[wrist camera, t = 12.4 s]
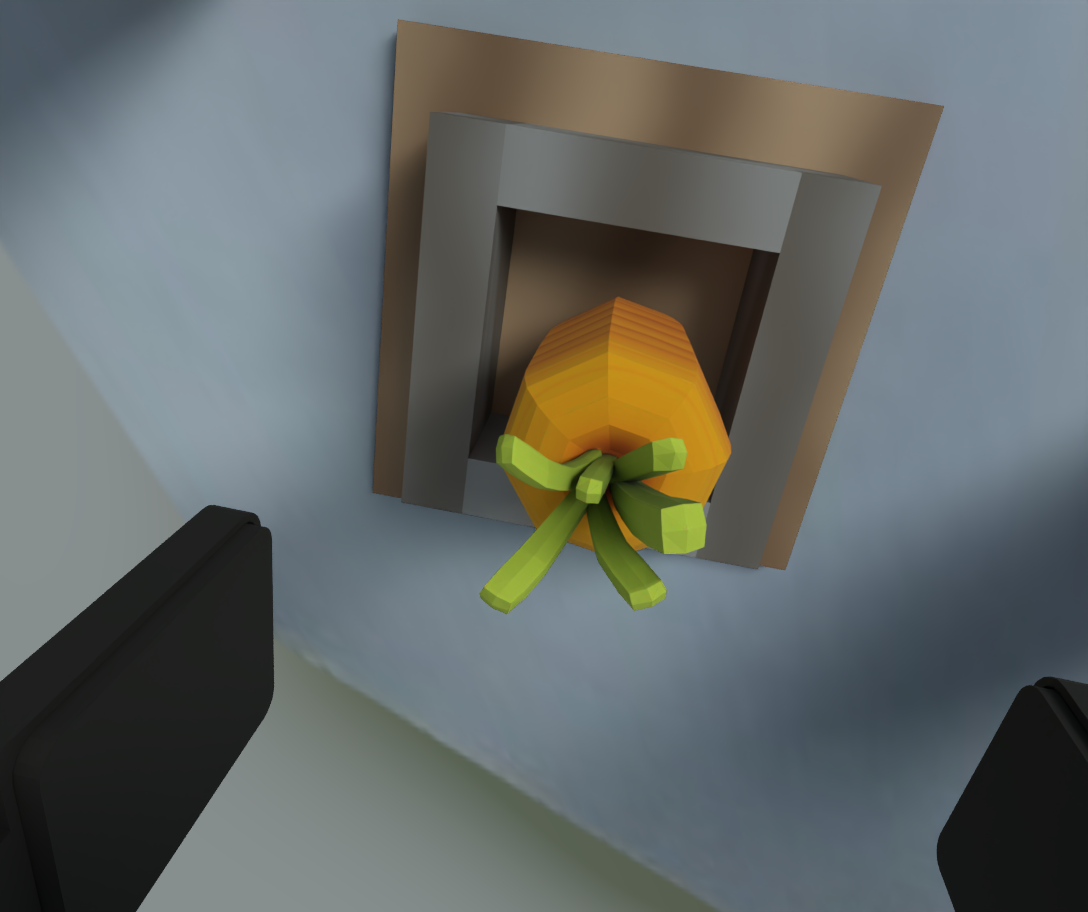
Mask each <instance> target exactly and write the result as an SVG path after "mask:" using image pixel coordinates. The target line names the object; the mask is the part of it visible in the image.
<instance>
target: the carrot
mask: <svg viewBox="0 0 1088 912" xmlns="http://www.w3.org/2000/svg"><path fill="white" fill-rule="evenodd" d="M730 454H731V444H730V441H729V438H728V435H727V432H726V429H725V427H724V424H723V421H722V418H721V415H720V412H719V410H718V408H717V405H716V403H715V401H714V398H713V396H712V393H711V391H710V389H709V386H708V384H707V382H706V379H705V377H704V374H703V372H702V370H701V367H700V365H699V363H698V360H697V358H696V355H695V353H694V351H693V348H692V346H691V344H690V341H689V339H688V337H687V335H686V332H685V330H684V328H683V326H682V324H680V323H679V322H678V321H676V320H675V319H674V318H672V317H670V316H668V315H666V314H664V313H662V312H659V311H656V310H653V309H651V308H648V307H645V306H643V305H640V304H637V303H635V302H632V301H629V300H626V299H624V298H621V297H616V298H614V299H611V300H609V301H607V302H605V303H603V304H600V305H598V306H596V307H594V308H592V309H589V310H587V311H585V312H583V313H581V314H578V315H576V316H574V317H572V318H570V319H567V320H565V321H563V322H562V323H560V324H558V325H557V326H555V327H554V328H552V329H551V330H550V331H549V333H548V334H547V335H546V337H545V338H544V340H543V341H542V343H541V344H540V346H539V347H538V349H537V351H536V353H535V354H534V356H533V358H532V360H531V362H530V364H529V365H528V367H527V369H526V371H525V374H524V377H523V380H522V383H521V386H520V389H519V392H518V394H517V397H516V400H515V403H514V406H513V409H512V412H511V415H510V417H509V420H508V423H507V426H506V429H505V432H504V435H501V436H499V439H498V442H497V446H496V463H497V464H498V465H499V466H501V467H502V468H503V469H504V471H505V473H506V475H507V476H508V478H509V480H510V482H511V484H512V486H513V487H514V489H515V491H516V493H517V495H518V497H519V498H520V500H521V502H522V504H523V506H524V508H525V509H526V511H527V513H528V515H529V517H530V519H531V520H532V522H533V524H534V526H535V528H536V531H535V532H534V533H533V534H532V535H531V537H530V538H529V539H528V540H527V541H526V542H525V543H524V544H523V545H522V547H521V548H520V549H519V550H518V551H517V552H516V553H515V554H514V555H513V556H512V557H511V558H510V559H509V560H508V561H507V562H506V563H505V564H504V565H503V566H502V567H501V568H500V569H499V570H498V571H497V572H496V574H495V575H494V576H493V577H492V578H491V579H490V581H489V582H488V583H487V584H486V585H485V586H484V588H483V589H482V591H481V592H480V597H481V599H482V600H483V601H485V602H486V603H487V604H488V605H489V606H490V607H492V608H493V609H496V610H498V611H500V612H503V613H505V614H507V613H509V612H510V611H511V610H512V609H513V608H514V607H516V606H517V605H518V604H519V603H520V602H521V601H522V600H523V599H525V598H526V597H527V596H528V594H529V593H530V592H531V591H532V590H533V589H534V587H535V586H536V585H537V584H538V583H539V582H540V580H541V579H542V578H543V577H544V576H545V575H546V573H547V571H548V570H549V568H550V567H551V565H552V564H553V562H554V561H555V559H556V558H557V556H558V555H559V553H560V552H561V550H562V549H563V547H564V546H565V544H566V543H567V542H569V543H572V544H575V545H577V546H580V547H583V548H586V549H589V550H591V551H594V552H595V553H596V556H597V560H598V562H599V563H600V565H601V567H602V568H603V570H604V572H605V573H606V575H607V576H608V578H609V579H610V581H611V582H612V584H613V585H614V587H615V588H616V590H617V591H618V593H619V594H620V595H621V596H622V597H623V598H624V600H625V601H626V602H627V603H628V604H629V605H630V606H631V608H632V609H633V610H634V611H635V610H640V609H645V608H649V607H652V606H654V605H655V604H657V603H659V602H660V601H662V600H663V599H665V598H666V592H667V590H666V588H665V586H664V584H663V582H662V581H661V579H660V578H659V577H658V576H657V575H656V574H655V572H654V571H653V570H652V569H651V568H650V567H649V565H648V564H647V563H646V562H645V561H644V560H643V559H642V558H641V556H640V555H639V554H638V553H637V552H636V551H638V550H640V549H643V548H646V547H650V548H652V549H654V550H657V551H659V552H661V553H663V554H683V553H689V552H692V551H694V550H697V549H700V548H703V547H704V545H705V535H706V526H707V525H706V520H705V516H704V511H703V508H704V506H705V504H706V502H707V500H708V498H709V496H710V494H711V492H712V490H713V488H714V486H715V484H716V482H717V480H718V478H719V476H720V474H721V472H722V470H723V468H724V466H725V464H726V462H727V460H728V458H729V456H730Z"/></svg>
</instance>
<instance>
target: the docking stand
mask: <svg viewBox="0 0 1088 912" xmlns="http://www.w3.org/2000/svg"><path fill="white" fill-rule="evenodd" d="M943 108H944V106H941V105H934V104H928V103H922V102H915V101H909V100H903V99H896V98H890V97H884V96H877V95H871V94H865V93H858V92H852V91H846V90H840V89H833V88H827V87H821V86H814V85H808V84H802V83H795V82H789V81H783V80H776V79H770V78H764V77H758V76H751V75H745V74H739V73H732V72H726V71H720V70H713V69H707V68H701V67H694V66H688V65H682V64H675V63H669V62H663V61H657V60H650V59H644V58H638V57H631V56H625V55H619V54H612V53H606V52H600V51H593V50H587V49H581V48H575V47H568V46H562V45H556V44H549V43H543V42H537V41H530V40H524V39H518V38H511V37H505V36H499V35H492V34H486V33H480V32H474V31H467V30H461V29H455V28H448V27H442V26H436V25H429V24H423V23H417V22H410V21H404V20H398V25H397V44H396V63H395V82H394V101H393V119H392V138H391V157H390V176H389V195H388V213H387V232H386V251H385V270H384V289H383V307H382V326H381V345H380V364H379V383H378V401H377V420H376V439H375V458H374V477H373V493H377V494H382V495H388V496H393V497H398V498H402V502H403V503H408V504H413V505H419V506H424V507H429V508H434V509H440V510H445V511H450V512H456V513H461V514H466V515H472V516H477V517H482V518H488V519H493V520H498V521H503V522H509V523H514V524H519V525H525V526H530V527H535V526H534V524H533V522H532V520H531V519H530V517H529V515H528V513H527V511H526V509H525V508H524V506H523V504H522V502H521V500H520V498H519V497H518V495H517V493H516V491H515V489H514V487H513V486H512V484H511V482H510V480H509V478H508V476H507V475H506V473H505V471H504V469H503V468H502V467H501V466H499V465H498V464H497V463H496V446H497V442H498V439H499V436H501V435H504V432H505V429H506V426H507V423H508V420H509V417H510V415H511V412H512V409H513V406H514V403H515V400H516V397H517V394H518V392H519V389H520V386H521V383H522V380H523V377H524V374H525V371H526V369H527V367H528V365H529V364H530V362H531V360H532V358H533V356H534V354H535V353H536V351H537V349H538V347H539V346H540V344H541V343H542V341H543V340H544V338H545V337H546V335H547V334H548V333H549V331H550V330H551V329H552V328H554V327H555V326H557V325H558V324H560V323H562V322H563V321H565V320H567V319H570V318H572V317H574V316H576V315H578V314H581V313H583V312H585V311H587V310H589V309H592V308H594V307H596V306H598V305H600V304H603V303H605V302H607V301H609V300H611V299H614V298H616V297H621V298H624V299H626V300H629V301H632V302H635V303H637V304H640V305H643V306H645V307H648V308H651V309H653V310H656V311H659V312H662V313H664V314H666V315H668V316H670V317H672V318H674V319H675V320H676V321H678V322H679V323H680V324H682V326H683V328H684V330H685V332H686V335H687V337H688V339H689V341H690V344H691V346H692V348H693V351H694V353H695V355H696V358H697V360H698V363H699V365H700V367H701V370H702V372H703V374H704V377H705V379H706V382H707V384H708V386H709V389H710V391H711V393H712V396H713V398H714V401H715V403H716V405H717V408H718V410H719V412H720V415H721V418H722V421H723V424H724V427H725V429H726V432H727V435H728V438H729V441H730V444H731V454H730V456H729V458H728V460H727V462H726V464H725V466H724V468H723V470H722V472H721V474H720V476H719V478H718V480H717V482H716V484H715V486H714V488H713V490H712V492H711V494H710V496H709V498H708V500H707V502H706V504H705V506H704V508H703V511H704V516H705V520H706V525H707V526H706V535H705V545H704V547H703V548H700V549H697V550H694V551H692V552H689V553H683V554H679V555H684V556H689V557H694V558H700V559H705V560H710V561H716V562H721V563H726V564H732V565H737V566H742V567H748V568H753V569H758V568H759V565H760V566H765V567H770V568H775V569H781V570H785V569H786V567H787V564H788V561H789V558H790V555H791V552H792V549H793V546H794V543H795V540H796V537H797V534H798V532H799V529H800V526H801V523H802V520H803V517H804V514H805V511H806V508H807V505H808V502H809V499H810V496H811V494H812V491H813V488H814V485H815V482H816V479H817V476H818V473H819V470H820V467H821V464H822V461H823V458H824V456H825V453H826V450H827V447H828V444H829V441H830V438H831V435H832V432H833V429H834V426H835V423H836V421H837V418H838V415H839V412H840V409H841V406H842V403H843V400H844V397H845V394H846V391H847V388H848V385H849V383H850V380H851V377H852V374H853V371H854V368H855V365H856V362H857V359H858V356H859V353H860V350H861V347H862V345H863V342H864V339H865V336H866V333H867V330H868V327H869V324H870V321H871V318H872V315H873V312H874V310H875V307H876V304H877V301H878V298H879V295H880V292H881V289H882V286H883V283H884V280H885V277H886V274H887V272H888V269H889V266H890V263H891V260H892V257H893V254H894V251H895V248H896V245H897V242H898V239H899V236H900V234H901V231H902V228H903V225H904V222H905V219H906V216H907V213H908V210H909V207H910V204H911V201H912V199H913V196H914V193H915V190H916V187H917V184H918V181H919V178H920V175H921V172H922V169H923V166H924V163H925V161H926V158H927V155H928V152H929V149H930V146H931V143H932V140H933V137H934V134H935V131H936V128H937V125H938V123H939V120H940V117H941V114H942V111H943ZM646 548H647V549H652V548H650V547H646ZM652 550H654V549H652Z"/></svg>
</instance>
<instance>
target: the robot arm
mask: <svg viewBox="0 0 1088 912" xmlns="http://www.w3.org/2000/svg"><path fill="white" fill-rule="evenodd" d="M273 656H274V655H273V585H272V537H271V532H270V530H269V529H268V528H267V527H262V526H261V524H260V520H259V518H258V516H257V515H256V514H254V513H250V512H246V511H241V510H236V509H231V508H226V507H221V506H216V505H209V506H207V507H205V508H204V509H202V510H201V511H200V512H199V513H198V514H196V515H195V516H194V517H193V518H192V519H190V520H189V521H188V522H187V523H186V524H185V525H184V526H182V527H181V528H180V529H179V530H178V531H176V532H175V533H174V534H173V535H172V536H171V537H170V538H168V539H167V540H166V541H165V542H164V543H162V544H161V545H160V546H159V547H158V548H156V549H155V550H154V551H153V552H152V553H151V554H149V555H148V556H147V557H146V558H145V559H144V560H142V561H141V562H140V563H139V564H138V565H137V566H135V567H134V568H133V569H132V570H131V571H130V572H128V573H127V574H126V575H125V576H124V577H123V578H121V579H120V580H119V581H118V582H117V583H115V584H114V585H113V586H112V587H111V588H110V589H108V590H107V591H106V592H105V593H104V594H103V595H102V596H100V597H99V598H98V599H97V600H96V601H94V602H93V603H92V604H91V605H90V606H89V607H87V608H86V609H85V610H84V611H83V612H81V613H80V614H79V615H78V616H77V617H76V618H74V619H73V620H72V621H71V622H70V623H69V624H67V625H66V626H65V627H64V628H63V629H62V630H61V631H59V632H58V633H57V634H56V635H55V636H54V637H52V638H51V639H50V640H49V641H47V643H45V644H44V645H43V646H42V647H40V648H39V649H38V650H37V651H36V652H35V653H33V654H32V655H31V656H30V657H29V658H28V659H26V660H25V661H24V662H23V663H22V664H21V665H19V666H18V667H17V668H16V669H15V670H13V671H12V672H11V673H10V674H9V675H8V676H7V677H5V678H4V679H3V680H2V681H1V682H0V912H136V911H137V909H138V908H139V906H140V905H141V903H142V902H143V900H144V899H145V897H146V896H147V894H148V893H149V891H150V890H151V888H152V887H153V885H154V884H155V882H156V881H157V879H158V878H159V876H160V874H161V873H162V872H163V870H164V869H165V867H166V866H167V864H168V863H169V861H170V859H171V858H172V856H173V855H174V853H175V852H176V850H177V849H178V847H179V846H180V844H181V843H182V841H183V839H184V838H185V837H186V835H187V834H188V832H189V831H190V829H191V828H192V826H193V825H194V823H195V822H196V820H197V819H198V817H199V815H200V814H201V813H202V811H203V810H204V808H205V807H206V805H207V803H208V802H209V800H210V799H211V797H212V796H213V794H214V793H215V791H216V790H217V788H218V787H219V785H220V784H221V782H222V781H223V779H224V778H225V776H226V775H227V773H228V771H229V770H230V769H231V767H232V766H233V764H234V763H235V761H236V759H237V758H238V757H239V755H240V754H241V752H242V751H243V749H244V747H245V746H246V745H247V743H248V741H249V740H250V738H251V737H252V735H253V734H254V732H255V731H256V729H257V728H258V726H259V725H260V723H261V722H262V720H263V719H264V717H265V715H266V713H267V711H268V709H269V706H270V704H271V701H272V697H273V691H274V663H273V662H274V657H273ZM937 861H938V865H939V869H940V872H941V875H942V877H943V880H944V883H945V885H946V888H947V891H948V894H949V896H950V899H951V902H952V904H953V907H954V910H955V912H1088V684H1084V683H1079V682H1074V681H1069V680H1064V679H1059V678H1055V677H1043V678H1042V679H1040V680H1038V681H1037V682H1036V683H1035V685H1034V686H1032V685H1029V686H1025V687H1024V688H1022V689H1021V690H1020V691H1019V693H1018V694H1017V696H1016V698H1015V700H1014V701H1013V703H1012V705H1011V707H1010V709H1009V710H1008V712H1007V714H1006V716H1005V718H1004V719H1003V721H1002V723H1001V725H1000V727H999V729H998V730H997V732H996V734H995V736H994V738H993V739H992V741H991V743H990V745H989V747H988V748H987V750H986V752H985V754H984V756H983V757H982V759H981V761H980V763H979V765H978V767H977V768H976V770H975V772H974V774H973V776H972V777H971V779H970V781H969V783H968V785H967V786H966V788H965V790H964V792H963V794H962V795H961V797H960V799H959V801H958V803H957V804H956V806H955V808H954V810H953V812H952V814H951V815H950V817H949V819H948V821H947V823H946V824H945V826H944V828H943V830H942V832H941V833H940V836H939V839H938V843H937Z"/></svg>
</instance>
